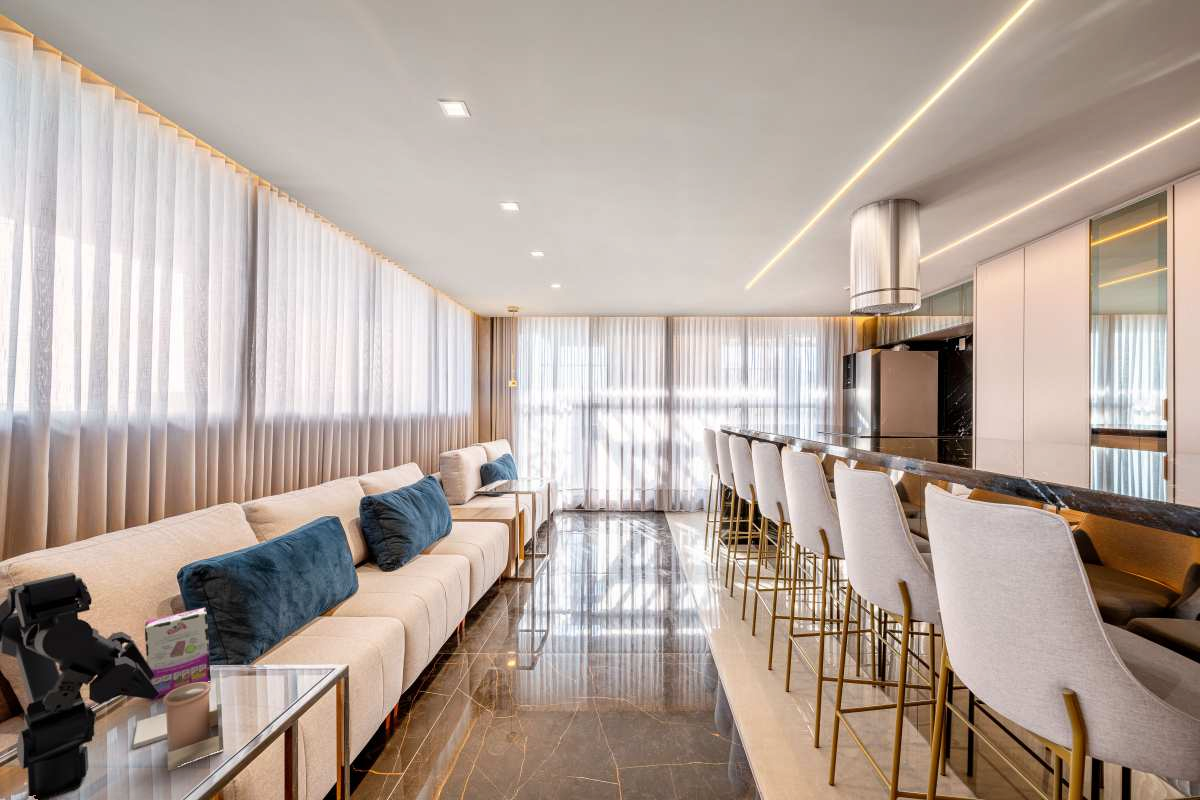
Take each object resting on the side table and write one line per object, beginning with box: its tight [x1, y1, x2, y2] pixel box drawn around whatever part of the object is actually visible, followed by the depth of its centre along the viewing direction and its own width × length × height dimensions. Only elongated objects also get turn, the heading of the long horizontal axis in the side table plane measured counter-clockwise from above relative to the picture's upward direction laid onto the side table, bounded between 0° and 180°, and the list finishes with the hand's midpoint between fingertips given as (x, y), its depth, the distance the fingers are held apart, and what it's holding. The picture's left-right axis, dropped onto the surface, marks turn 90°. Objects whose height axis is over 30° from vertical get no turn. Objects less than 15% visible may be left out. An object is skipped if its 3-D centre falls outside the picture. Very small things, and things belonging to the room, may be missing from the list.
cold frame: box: [167, 677, 224, 772], centre depth 101 cm, size 8×12×9 cm
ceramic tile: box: [132, 712, 167, 749], centre depth 107 cm, size 9×9×1 cm
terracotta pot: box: [163, 682, 212, 753], centre depth 101 cm, size 7×7×11 cm
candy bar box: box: [144, 607, 212, 701], centre depth 122 cm, size 11×5×16 cm, turn 129°
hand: (154, 686), depth 98 cm, fingers open, 9 cm apart
